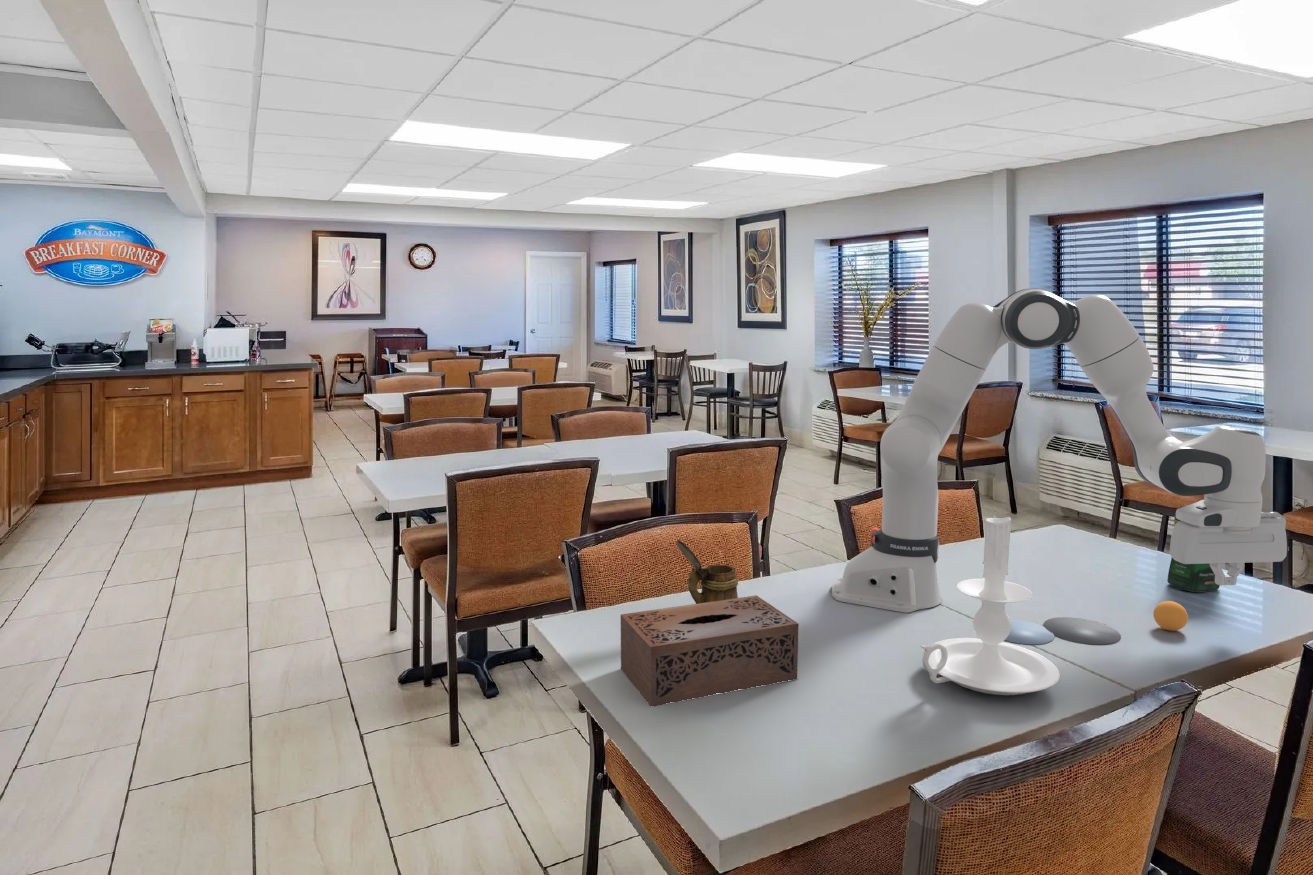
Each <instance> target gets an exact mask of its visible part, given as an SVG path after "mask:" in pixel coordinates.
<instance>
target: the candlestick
mask: <svg viewBox="0 0 1313 875" xmlns="http://www.w3.org/2000/svg"><path fill="white" fill-rule="evenodd" d="M992 516H993V517H987V518H986V519H985V521H984V522H985V525H984V545H983V546H984V548H983V549H984V550H983V551H984V552H983V561H982V565H983V571H982V572H983V573H982V578H968V579H964V580H960V581H958V583H956V584H955V585H956V589H957V590H958V591H959V592H960V593H962V594H964V595H966V596H969V597H971V598H975V599H977V600H980V601H981V605H980V608H978V610H977V611H976V613H975V614H974V617H973V621H972V626H973V630H974V632H975V634H976V635H977V637H978V638H977V637H976V638H975V637H957V638H949V639H948V638H945V639H942V640H939V641H936V642H933V643H931V644H930V645H927V644H922V645H920V647H921V649H924V651H923V653H922V660H921V662H922V666H923V668H924V669H925V670H926V672H928V674H929V680H930V681H932V682H933V683H935V684H942V683H945V682H952V683H954V684H957V685H958V686H961V687H963V688H965V689H966V688H967V689H970V690H972V691H974V692H980V693H983V694H990V695H995V696H998V695H999V696H1000V695H1001V696H1017V695H1025V694H1029V693H1035V692H1039V691H1045V690H1047V689H1049V688H1051V687H1053V686H1055V685H1056V684H1057V683H1058V681H1060V676H1061V674H1060V671H1059V668H1058V667H1057V666H1056V664H1054V662H1052V661H1051V660H1049V659H1048V658H1046V657H1045V656H1043V655H1042V654H1040V653H1037V652H1036V651H1034V650H1030V649H1028V648H1025V647H1023V646H1019V645H1017V644H1014V643H1011V642H1010V643H1009V642H1005V639H1006V638H1007V636H1008V635H1009V633H1010V631H1011V622H1010V619H1011V618H1010V617H1009V615H1008V613H1007V612H1006V609H1005V607H1006V606H1005V605H1006V604H1008V603H1009V604H1010V603H1013V604H1014V603H1022V602H1027V601H1029V600H1031V599H1032V598H1033V597H1034V593H1033V592H1032V590H1030V589H1029V588H1027V587H1025V586H1023V585H1020V584H1018V583H1015V582H1011V581H1006V580H1005V578H1006V577H1007V576H1009V557H1010V556H1009V555H1010V540H1011V527H1012V526H1011V524H1012V518H1011V517H1010V516H1007V517H1000V518H999V517H996V515H995V514H993V515H992ZM937 675H941V677H937Z"/></svg>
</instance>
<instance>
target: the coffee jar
mask: <svg viewBox="0 0 1313 875" xmlns="http://www.w3.org/2000/svg"><path fill="white" fill-rule="evenodd" d="M1185 506H1186V505H1180V506H1179V507H1177V508H1176V511H1177V509H1179V508H1182V507H1185ZM1176 511H1175V512H1176ZM1173 521H1174V522H1173V524H1174V525H1175V524H1176V523H1178V522H1179V521H1181V520H1178V519H1177V518H1176V513H1175V514H1174V520H1173ZM1167 573H1168V574H1167V580H1166V581H1167V583H1168V584H1169V585H1171V586H1172V587H1173V588H1175V589H1177V590H1181V591H1183V590H1184V591H1189V592H1191V593H1192V592H1193V593H1205V592H1206V593H1207V592H1214V591H1217V590H1219V589H1220V588H1221V587H1220V586H1221V585H1218V584H1216V583H1215V574H1214V572H1213V570H1212V569H1211V567H1210V563H1209V564H1183V563H1180V562H1178V561H1176V560H1174V559H1173V558H1172V557H1171V560H1170V563H1169V568H1168V572H1167Z"/></svg>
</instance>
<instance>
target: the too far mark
mask: <svg viewBox="0 0 1313 875" xmlns="http://www.w3.org/2000/svg"><path fill="white" fill-rule="evenodd" d="M1009 619H1010V622H1011V631H1010V633H1009V635H1008V636H1007V638H1006V639H1005V640H1004V642H1005V641H1006V642H1008V643H1009V642H1010V643H1012V644H1020V645H1027V646H1028V645H1029V646H1030V645H1031V646H1032V645H1033V646H1036V645H1045V644H1049V643H1051V642H1053V641H1054V639H1055V635H1054V634H1053V633H1052V632H1051V631H1050V630H1048V629H1047V628H1045V627H1044V626H1043V625H1040V624H1038V623H1034V622H1031V621H1027V620H1020V619H1014V618H1013V619H1012V618H1009Z"/></svg>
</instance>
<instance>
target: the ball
mask: <svg viewBox="0 0 1313 875" xmlns="http://www.w3.org/2000/svg"><path fill="white" fill-rule="evenodd" d="M1153 618H1154V621H1155V623H1156V624H1157V625H1158V626H1159V627H1160V628H1161V629H1164V630H1166V631H1171V632H1173V631H1179V630H1181V629H1183V628H1184V627H1185V626H1186V625H1187V623H1188V620H1189V616H1188V612H1187V610H1186V609H1185V607H1184V606H1182V605H1181V604H1180V603H1178V602H1176V601H1172V600H1165V601H1161V602H1160V603H1158V604H1157V605H1156V606H1155V607H1154V610H1153Z"/></svg>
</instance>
